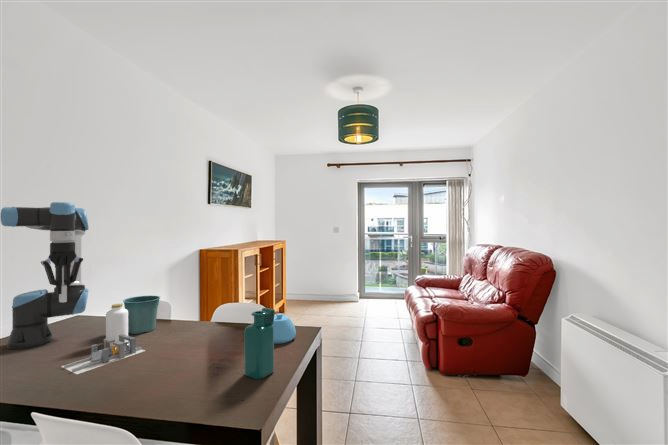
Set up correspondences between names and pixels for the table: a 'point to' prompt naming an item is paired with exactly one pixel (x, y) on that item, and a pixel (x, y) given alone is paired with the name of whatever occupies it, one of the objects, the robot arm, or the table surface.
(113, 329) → the potion bottle
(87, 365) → the collar board
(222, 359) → the table surface
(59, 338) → the table surface
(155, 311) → the flower pot
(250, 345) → the teal bottle
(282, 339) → the sugar bowl
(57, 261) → the robot arm
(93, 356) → the tube
